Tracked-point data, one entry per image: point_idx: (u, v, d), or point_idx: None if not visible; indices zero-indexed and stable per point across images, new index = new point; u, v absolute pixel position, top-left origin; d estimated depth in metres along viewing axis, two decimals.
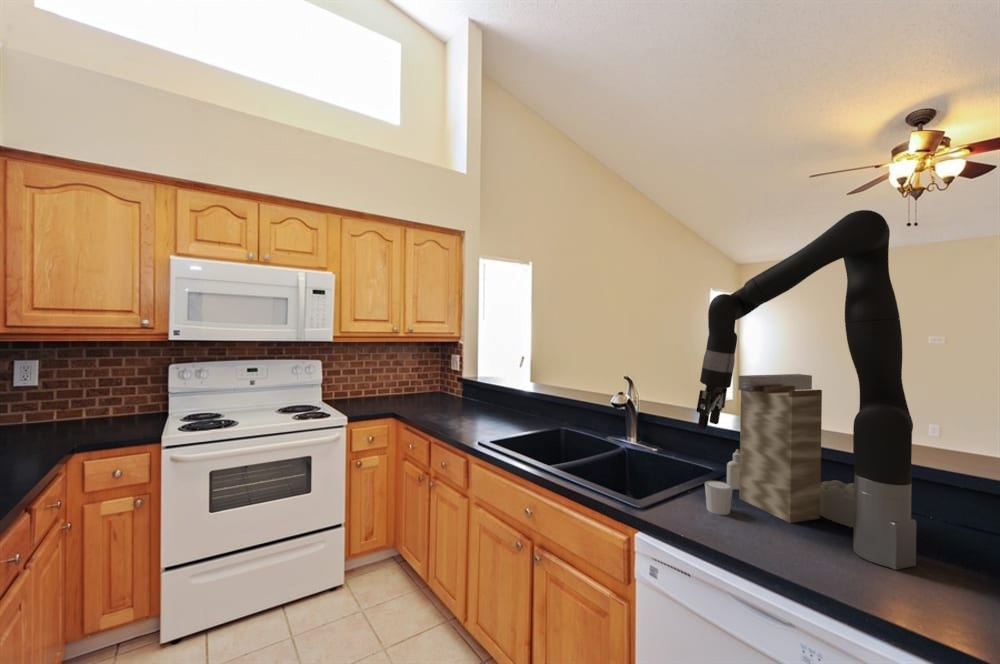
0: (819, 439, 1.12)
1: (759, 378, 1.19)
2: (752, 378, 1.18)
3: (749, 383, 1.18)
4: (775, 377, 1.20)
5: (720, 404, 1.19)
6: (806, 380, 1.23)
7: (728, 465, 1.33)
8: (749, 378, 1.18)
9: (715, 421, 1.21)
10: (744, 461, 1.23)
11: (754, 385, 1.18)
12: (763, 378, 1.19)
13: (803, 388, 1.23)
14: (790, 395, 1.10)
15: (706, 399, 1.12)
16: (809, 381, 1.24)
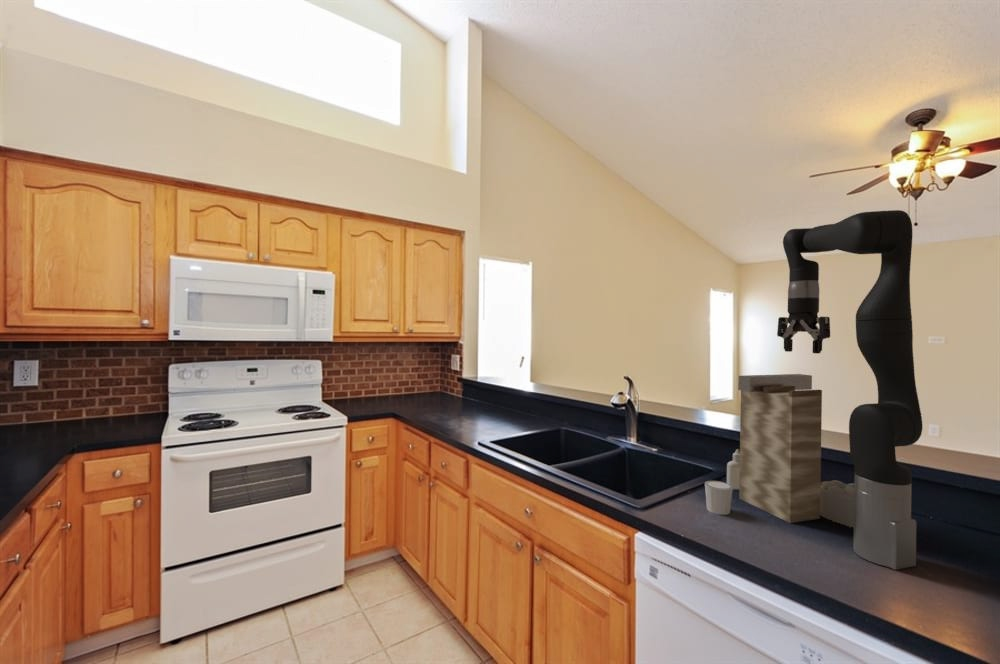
0: (819, 439, 1.12)
1: (759, 378, 1.19)
2: (752, 378, 1.18)
3: (749, 383, 1.18)
4: (775, 377, 1.20)
5: (797, 331, 1.29)
6: (806, 380, 1.23)
7: (728, 465, 1.33)
8: (749, 378, 1.18)
9: (790, 349, 1.30)
10: (744, 461, 1.23)
11: (754, 385, 1.18)
12: (763, 378, 1.19)
13: (803, 388, 1.23)
14: (790, 395, 1.10)
15: (828, 323, 1.20)
16: (809, 381, 1.24)
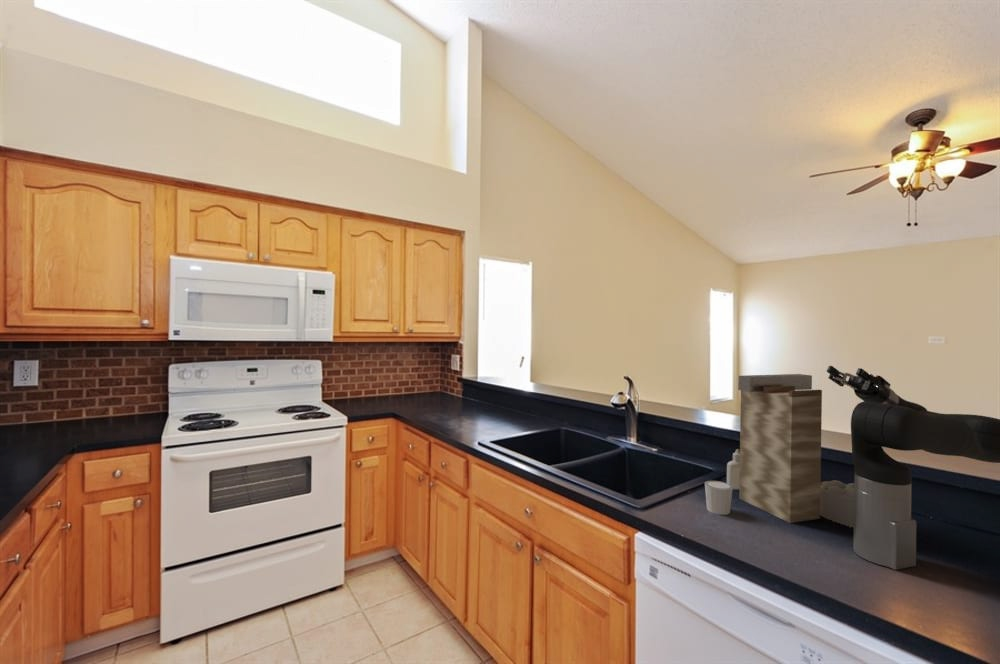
0: (819, 439, 1.12)
1: (759, 378, 1.19)
2: (752, 378, 1.18)
3: (749, 383, 1.18)
4: (775, 377, 1.20)
5: (844, 382, 1.34)
6: (806, 380, 1.23)
7: (728, 465, 1.33)
8: (749, 378, 1.18)
9: (830, 371, 1.34)
10: (744, 461, 1.23)
11: (754, 385, 1.18)
12: (763, 378, 1.19)
13: (803, 388, 1.23)
14: (790, 395, 1.10)
15: (885, 387, 1.25)
16: (809, 381, 1.24)
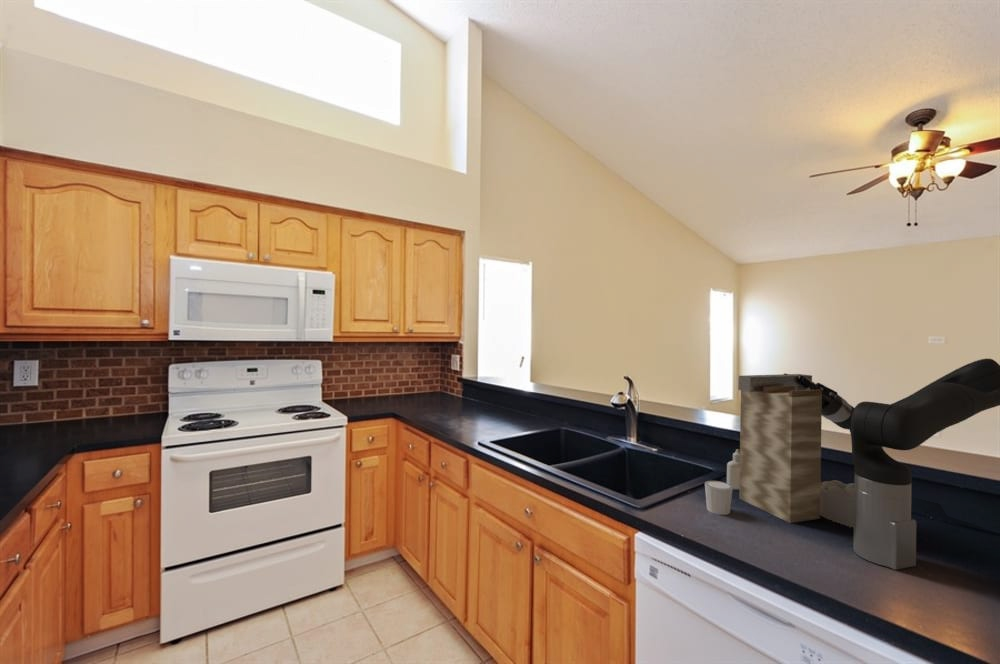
0: (819, 439, 1.12)
1: (759, 378, 1.19)
2: (752, 378, 1.18)
3: (749, 383, 1.18)
4: (775, 377, 1.20)
5: None
6: None
7: (728, 465, 1.33)
8: (749, 378, 1.18)
9: None
10: (744, 461, 1.23)
11: (754, 385, 1.18)
12: (763, 378, 1.19)
13: (803, 388, 1.23)
14: (790, 395, 1.10)
15: (829, 395, 1.20)
16: None
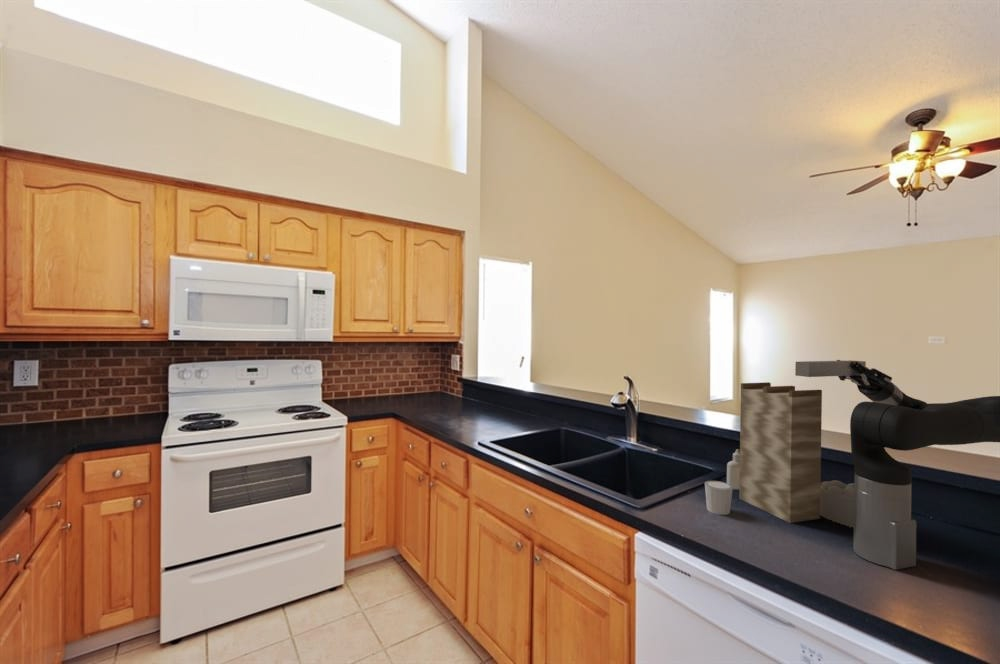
0: (819, 439, 1.12)
1: (817, 363, 1.21)
2: (811, 363, 1.20)
3: (808, 368, 1.20)
4: (832, 363, 1.23)
5: (851, 377, 1.30)
6: None
7: (728, 465, 1.33)
8: (808, 363, 1.20)
9: None
10: (744, 461, 1.23)
11: (812, 370, 1.21)
12: (821, 363, 1.21)
13: (858, 374, 1.26)
14: (790, 395, 1.10)
15: (884, 380, 1.23)
16: None
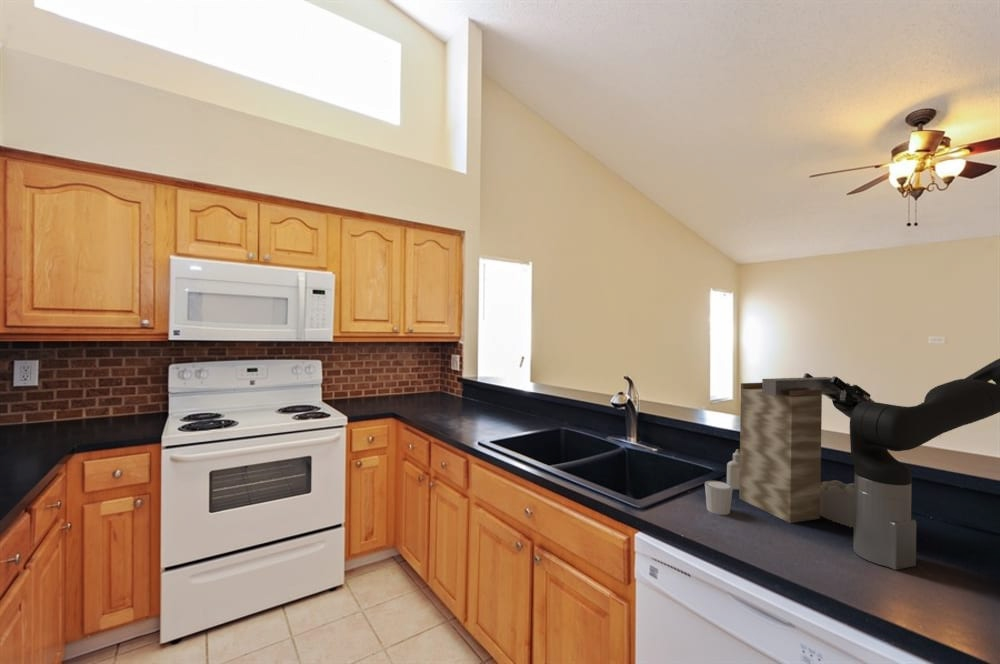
0: (819, 439, 1.12)
1: (785, 381, 1.11)
2: (778, 381, 1.11)
3: (775, 387, 1.10)
4: (802, 380, 1.13)
5: None
6: None
7: (728, 465, 1.33)
8: (774, 381, 1.11)
9: None
10: (744, 461, 1.23)
11: (780, 389, 1.11)
12: (789, 381, 1.12)
13: (831, 392, 1.16)
14: (790, 395, 1.10)
15: (863, 398, 1.12)
16: None
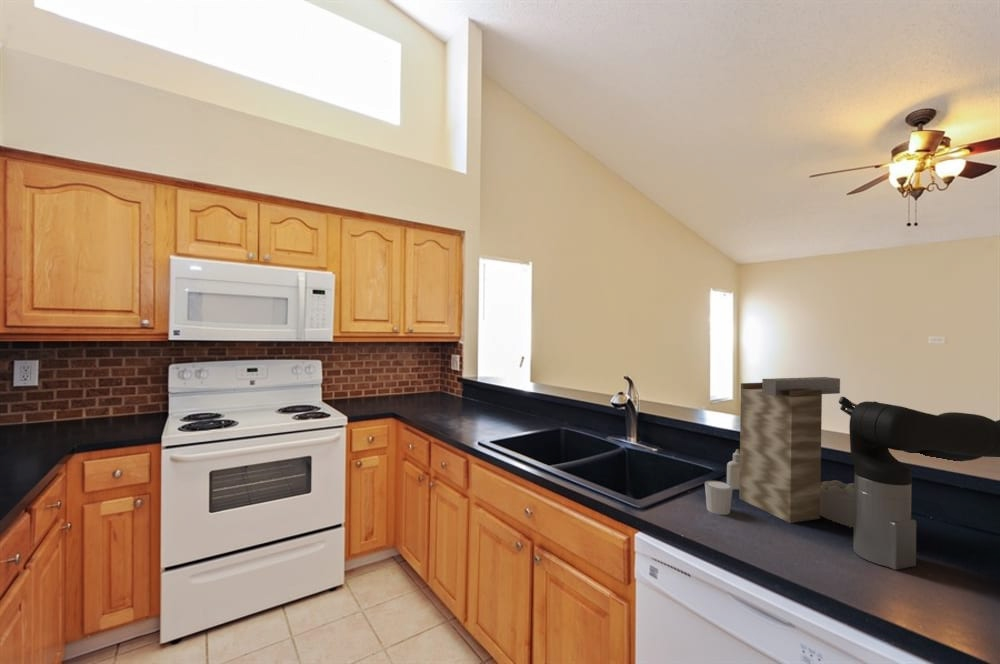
0: (819, 439, 1.12)
1: (785, 381, 1.11)
2: (778, 381, 1.11)
3: (775, 387, 1.10)
4: (802, 380, 1.13)
5: None
6: (833, 383, 1.16)
7: (728, 465, 1.33)
8: (774, 381, 1.11)
9: (843, 402, 1.25)
10: (744, 461, 1.23)
11: (780, 389, 1.11)
12: (789, 381, 1.12)
13: (831, 392, 1.16)
14: (790, 395, 1.10)
15: None
16: (837, 384, 1.16)
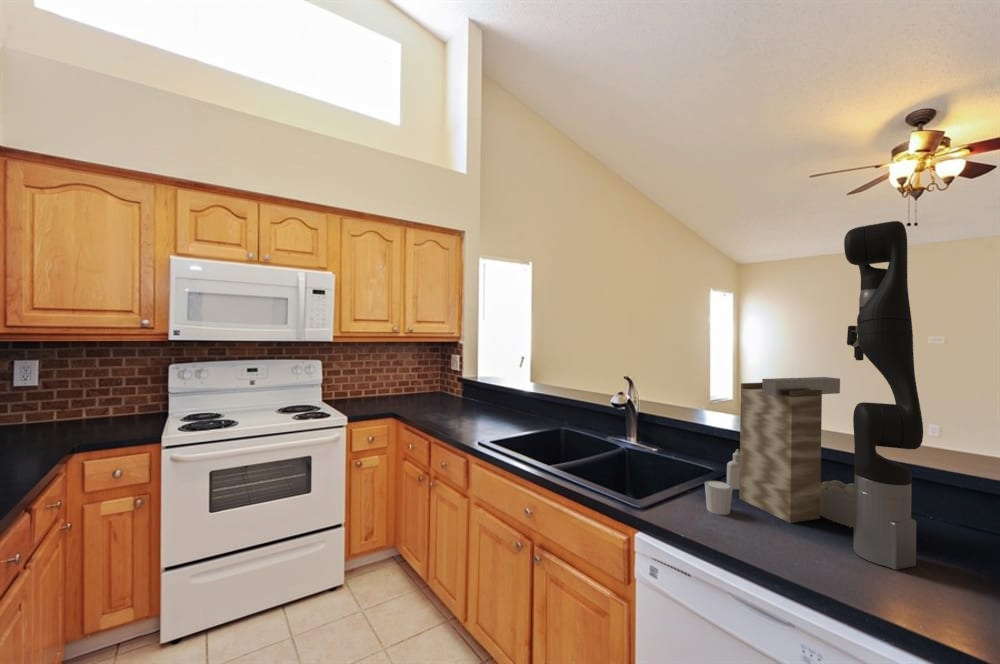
0: (819, 439, 1.12)
1: (785, 381, 1.11)
2: (778, 381, 1.11)
3: (775, 387, 1.10)
4: (802, 380, 1.13)
5: None
6: (833, 383, 1.16)
7: (728, 465, 1.33)
8: (774, 381, 1.11)
9: (861, 357, 1.29)
10: (744, 461, 1.23)
11: (780, 389, 1.11)
12: (789, 381, 1.12)
13: (831, 392, 1.16)
14: (790, 395, 1.10)
15: None
16: (837, 384, 1.16)
